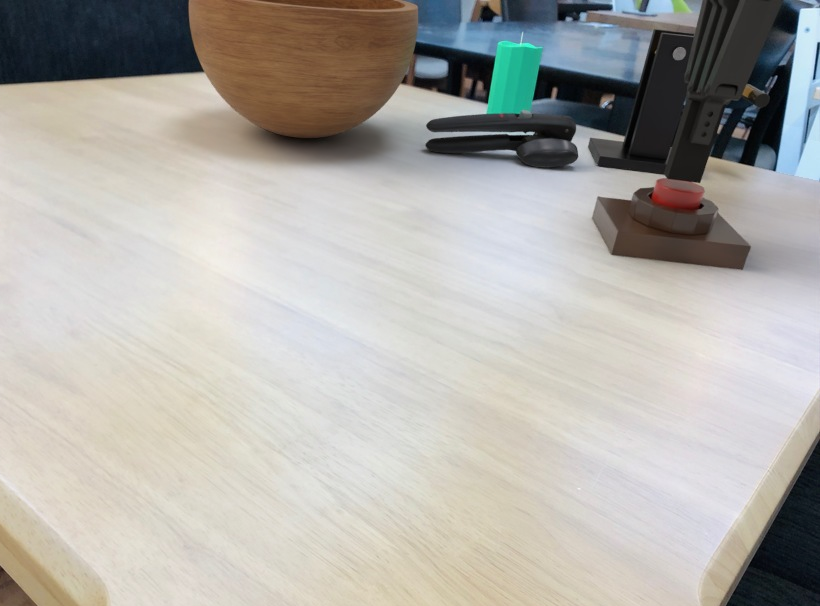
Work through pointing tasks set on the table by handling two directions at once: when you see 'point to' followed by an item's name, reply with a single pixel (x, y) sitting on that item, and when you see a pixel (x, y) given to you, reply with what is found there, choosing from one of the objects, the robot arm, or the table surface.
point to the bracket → (652, 108)
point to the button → (678, 194)
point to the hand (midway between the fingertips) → (681, 178)
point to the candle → (514, 77)
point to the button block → (669, 232)
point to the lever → (755, 96)
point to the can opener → (510, 136)
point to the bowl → (304, 59)
